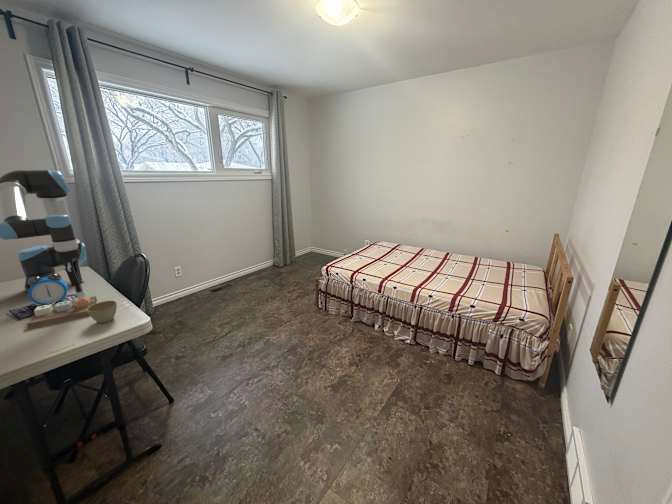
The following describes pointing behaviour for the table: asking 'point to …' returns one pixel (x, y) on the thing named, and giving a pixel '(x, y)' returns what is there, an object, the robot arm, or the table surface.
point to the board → (60, 315)
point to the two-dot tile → (63, 306)
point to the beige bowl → (103, 311)
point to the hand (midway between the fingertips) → (81, 297)
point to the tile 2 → (82, 302)
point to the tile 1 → (43, 310)
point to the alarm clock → (47, 289)
